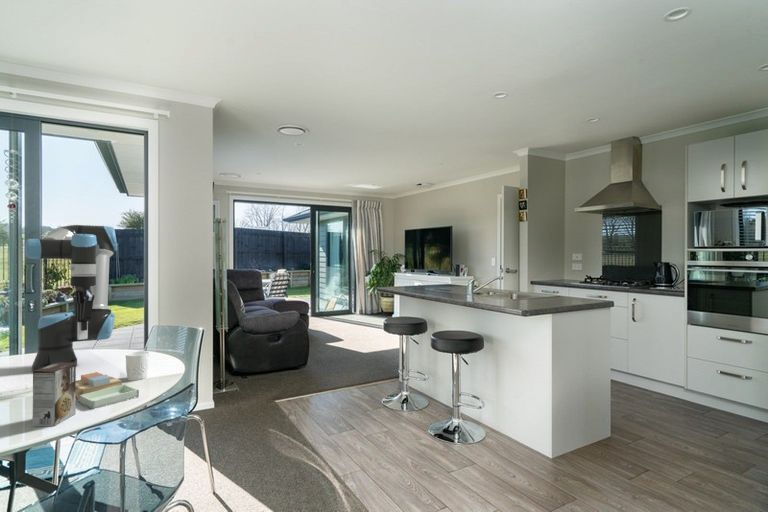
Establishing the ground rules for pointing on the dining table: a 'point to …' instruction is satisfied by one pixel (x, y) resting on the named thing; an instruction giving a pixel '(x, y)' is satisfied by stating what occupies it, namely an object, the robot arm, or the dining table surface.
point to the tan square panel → (86, 388)
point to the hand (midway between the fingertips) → (82, 338)
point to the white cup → (137, 365)
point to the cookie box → (54, 394)
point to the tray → (108, 396)
